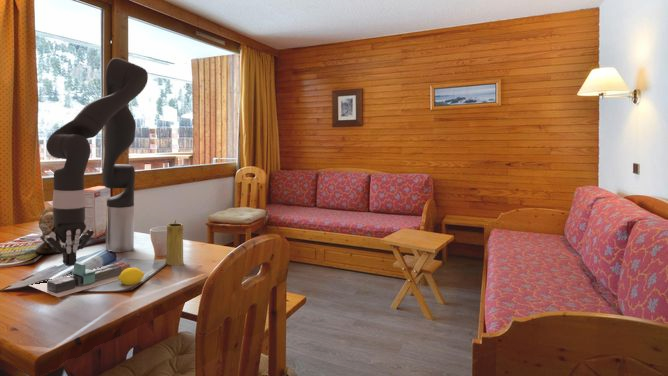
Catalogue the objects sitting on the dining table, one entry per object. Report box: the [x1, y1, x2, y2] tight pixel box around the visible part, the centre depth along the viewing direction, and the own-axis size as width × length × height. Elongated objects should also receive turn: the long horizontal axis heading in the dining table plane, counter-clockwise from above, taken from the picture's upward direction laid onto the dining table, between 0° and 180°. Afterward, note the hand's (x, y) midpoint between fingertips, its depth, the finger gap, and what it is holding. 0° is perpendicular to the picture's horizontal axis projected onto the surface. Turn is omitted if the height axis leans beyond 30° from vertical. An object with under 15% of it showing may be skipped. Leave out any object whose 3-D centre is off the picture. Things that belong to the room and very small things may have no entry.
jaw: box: [69, 261, 126, 279], centre depth 122 cm, size 16×2×3 cm, turn 152°
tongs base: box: [46, 263, 131, 294], centre depth 119 cm, size 22×4×3 cm, turn 152°
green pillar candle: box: [165, 222, 184, 266], centre depth 141 cm, size 6×6×14 cm
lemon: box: [118, 267, 145, 286], centre depth 120 cm, size 7×5×5 cm
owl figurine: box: [35, 204, 63, 255], centre depth 149 cm, size 18×12×17 cm, turn 12°
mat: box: [28, 263, 120, 298], centre depth 121 cm, size 15×25×1 cm, turn 153°
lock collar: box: [71, 261, 95, 285], centre depth 117 cm, size 3×6×6 cm, turn 62°
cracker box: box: [84, 185, 111, 239], centre depth 174 cm, size 14×6×21 cm, turn 5°
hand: (69, 265), depth 113 cm, fingers closed
